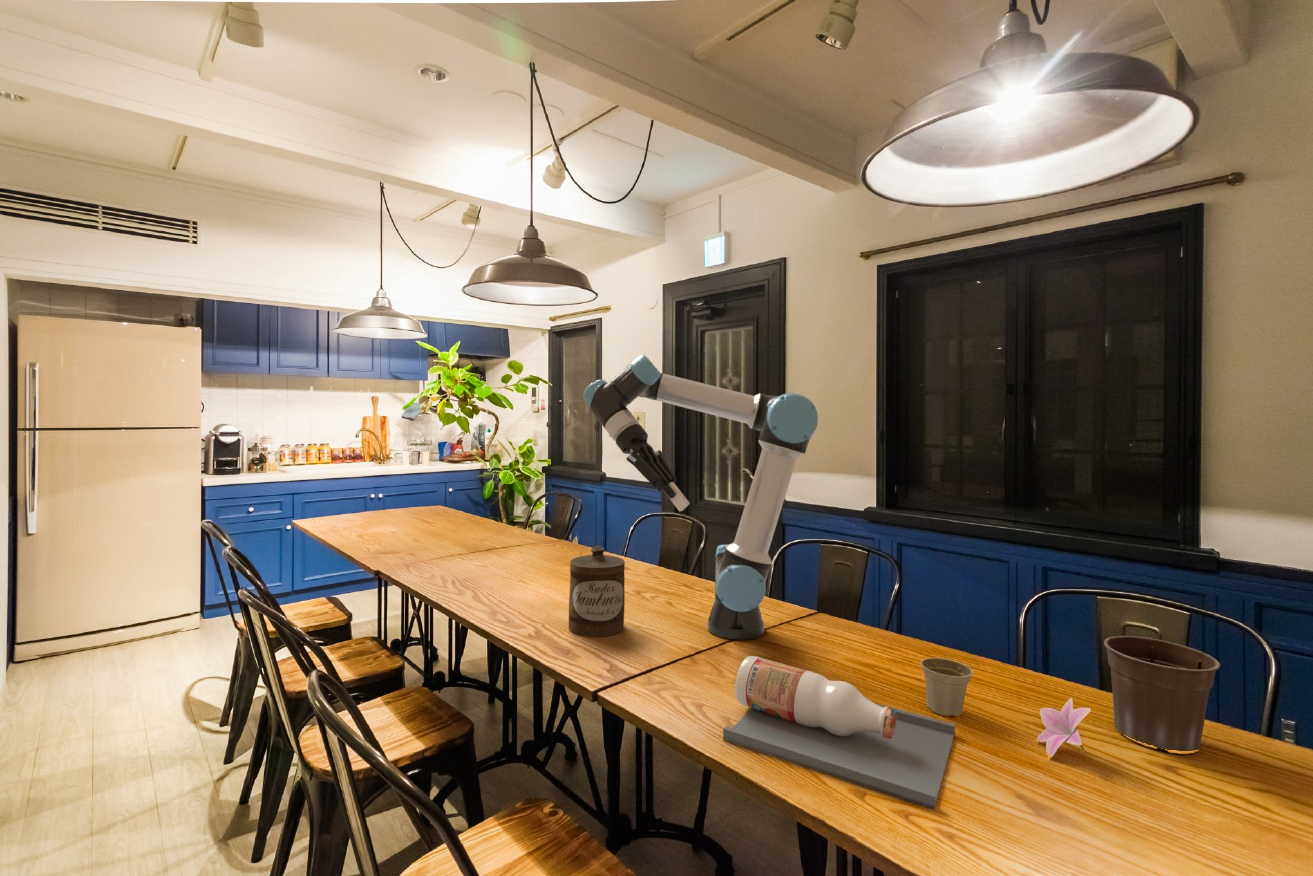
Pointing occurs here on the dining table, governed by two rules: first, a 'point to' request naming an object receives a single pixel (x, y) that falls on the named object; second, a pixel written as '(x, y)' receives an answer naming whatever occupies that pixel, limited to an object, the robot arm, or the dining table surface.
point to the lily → (1061, 726)
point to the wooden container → (596, 594)
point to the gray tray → (858, 752)
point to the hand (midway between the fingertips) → (684, 507)
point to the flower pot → (945, 685)
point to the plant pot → (1160, 691)
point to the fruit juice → (810, 699)
